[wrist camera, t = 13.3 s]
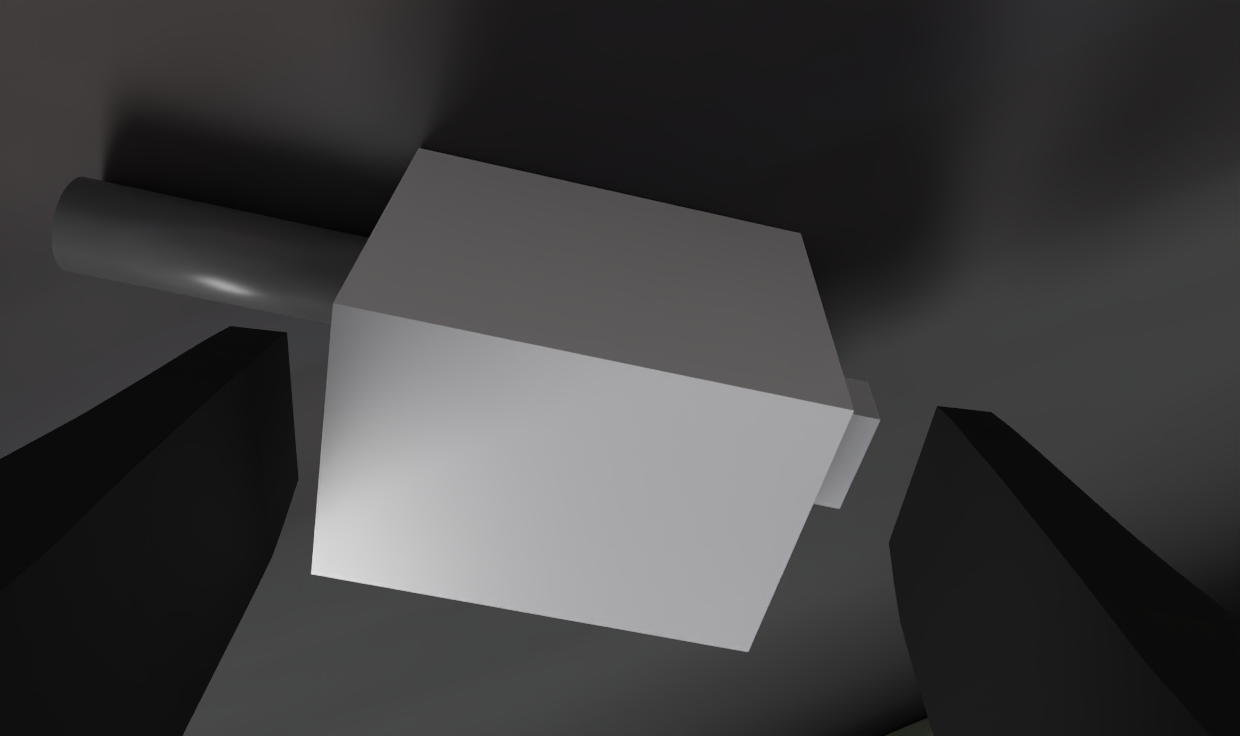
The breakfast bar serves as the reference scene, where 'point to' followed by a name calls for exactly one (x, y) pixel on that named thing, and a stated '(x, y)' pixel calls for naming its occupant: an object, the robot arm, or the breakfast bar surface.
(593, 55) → the breakfast bar surface
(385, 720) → the breakfast bar surface
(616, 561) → the plug
